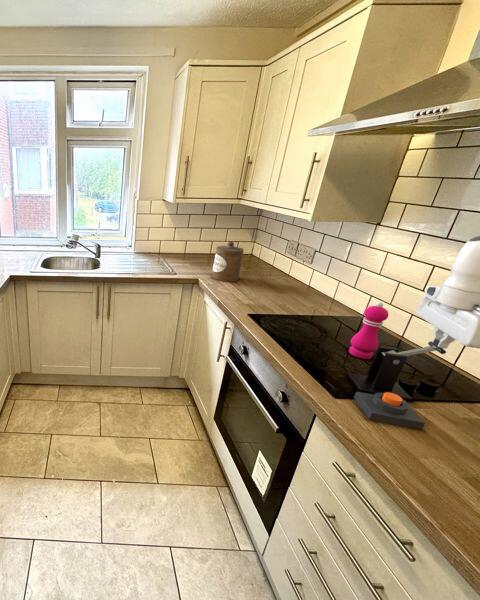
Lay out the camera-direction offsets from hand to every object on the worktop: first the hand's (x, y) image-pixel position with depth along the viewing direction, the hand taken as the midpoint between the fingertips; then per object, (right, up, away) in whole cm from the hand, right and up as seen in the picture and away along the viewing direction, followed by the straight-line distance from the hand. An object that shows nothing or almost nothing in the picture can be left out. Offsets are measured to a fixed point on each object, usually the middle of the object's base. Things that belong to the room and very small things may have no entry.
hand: (438, 345), depth 85 cm
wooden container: (-10, +26, +106) cm, 109 cm away
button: (-15, -15, -2) cm, 21 cm away
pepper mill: (+2, -7, +26) cm, 27 cm away
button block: (-15, -18, -1) cm, 24 cm away
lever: (-4, -3, +3) cm, 6 cm away
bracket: (-9, -14, +9) cm, 19 cm away
